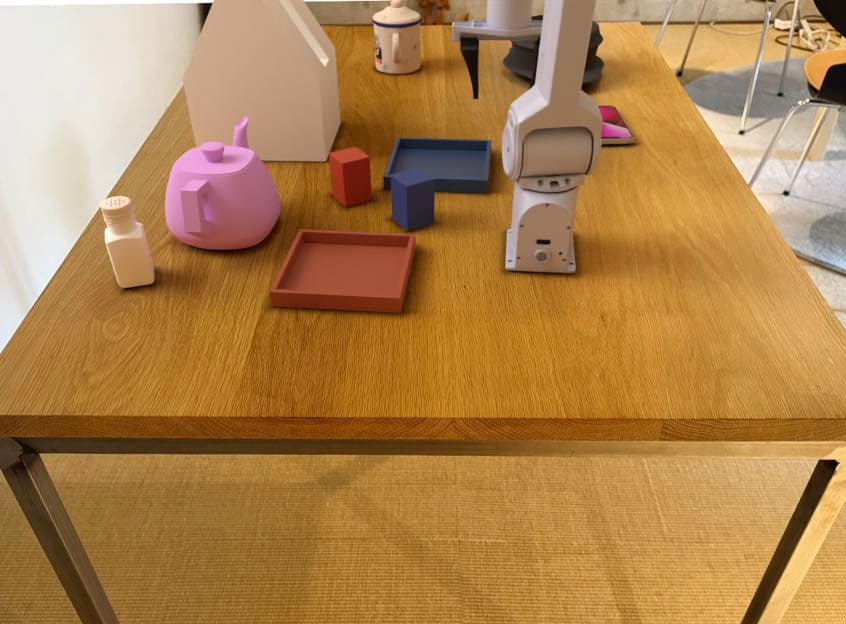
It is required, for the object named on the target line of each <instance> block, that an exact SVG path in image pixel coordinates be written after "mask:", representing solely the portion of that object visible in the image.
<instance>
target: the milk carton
mask: <svg viewBox="0 0 846 624" xmlns="http://www.w3.org/2000/svg"><path fill="white" fill-rule="evenodd" d="M336 56H337V55H336V47H335V45H334V44H333V42H332V41H331V39H330V38H329V37H328V35H327V34H326V32H325V31H324V29H323V28H322V26H321V25H320V23H319V22H318V20H317V19H316V17H315V15H314V14H313V13H312V12H311V10H310V8H309V7H308V6H307V4H306V2H305V1H304V0H213V1H212V4H211V6H210V8H209V12H208V14H207V16H206V19H205V22H204V23H203V26H202V29H201V31H200V34H199V36H198V39H197V41H196V43H195V47H194V48H193V51H192V54H191V56H190V59H189V61H188V64H187V66H186V68H185V71H184V74H183V76H182V78H181V81H182V86H183V89H184V95H185V100H186V105H187V110H188V114H189V119H190V124H191V129H192V134H193V140H194V143H195V148H196V147H200V146H201V145H202V144H204V143H207V142H211V141H217V142H222V143H223V144H224V146H233V138H234V131H235V126H236V124H237V122H238V121H239V120H240V119H241V118H243V117H247V118H248V124H247V141H248V146H249V149H250V150H252V151H254V152H255V153H256V154H257V155H258V157H259V158H260V159H261V161H265V162H266V161H267V162H269V161H272V162H273V161H277V162H327V160H328V158H329V153H331V150H332V147H333V145H334V141H335V139H336V137H337V134H338V132H339V129H340V126H341V123H342V122H341V109H340V97H339V82H338V69H337V57H336Z"/></svg>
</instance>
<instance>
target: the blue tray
mask: <svg viewBox="0 0 846 624" xmlns="http://www.w3.org/2000/svg"><path fill="white" fill-rule="evenodd" d="M492 144H493V142H492V139H478V138H477V139H476V138H443V137H442V138H440V137H410V136H409V137H407V136H397V137H396V139H395V141H394V145H393V148H392V151H391V153H390V156H389V159H388V162H387V165H386V168H385V171H384V174H383V180H382V181H383V190H384V191H385V190H386V191H391V174H395V173H399V172H403V171H407V170H411V169H414V168H419V169H421V170H422V171H424V172H425V173H427V174H428V175H430V176H431V177H433V178H434V179H435V192H436V193H439V192H440V193H465V194H466V193H467V194H488V189H489V178H490V167H491V157H492Z"/></svg>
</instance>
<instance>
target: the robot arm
mask: <svg viewBox="0 0 846 624" xmlns="http://www.w3.org/2000/svg"><path fill="white" fill-rule="evenodd" d="M533 1H534V0H487V4H486V5H487V6H486V19H478V20H468V21H453V22H452V25H451V42H454V43H455V42H456V43H458V42H459V50H460V54H461V56H462V58H463V60H464V63H465V66H466V68H467V71H468V74H469V79H470V84H471V87H472V100H479V93H480V90H479V89H480V84H479V81H480V80H479V58H480V56H479V55H480V41H510V40H533V41H535V42H534V58H533V70H532V77H531V79H530V83H529V89H528V90H527V91H525V92H524V93H523V94H521V95H520V96H519V97H517V99H515V100H514V101H512V103H510V105H509V110H508V112H507V117H506V123H505V126H504V128H503V131H502V139H501V155H502V156H501V158H502V159H501V160H502V167H503V171H504V173H505V175H506V176H507V177H508V178H509V180H511V181H514V182H513V183H514V185H513V195H512V196H513V198H512V209H511V223H510V228H508V229H507V230H506V243H505V270H506V271H515V272H533V273H535V272H537V273H538V272H539V273H557V274H558V273H559V274H575V273H576V269H577V268H576V267H577V266H576V257H575V256H576V255H575V245H574V244H575V243H574V233H573V232H574V226H575V225H574V224H575V216H576V209H577V203H578V195H579V187H580V186H584V185H585V184H586V183H585V182H586V177H587V176H591V175H592V174H593V173H594V172H595V170H596V169H597V168H598V166H599V163H600V158H601V153H602V144H601V129H602V122H603V120H602V116H601V113H600V110H599V107H598V106H599V105H598V104H597V102H596V101H595V100H594V99H593V98H592V97H591V96H589V94H587V93H586V92H584V90H582V85H583V84H582V81H583V75H584V69H585V63H586V57H587V51H588V45H589V40H590V34H591V28H592V22H593V21H594V15H595V9H596V4H597V0H544V7H543V14H542V15H543V21H538V20H531V16H533V15H532V14H533V4H534V3H533Z"/></svg>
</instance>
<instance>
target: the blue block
mask: <svg viewBox="0 0 846 624" xmlns="http://www.w3.org/2000/svg"><path fill="white" fill-rule="evenodd" d="M435 194H436V193H435V179H434V178H433V177H431V176H430V175H428V174H427V173H425V172H424V171H422V170H421V169H419V168H414V169H411V170H407V171H403V172H399V173H395V174H391V190H390V198H391V202H390V203H391V220H393V221H394V222H395V223H396V224H397V225H399V226H400V227H401V228H402V229H404V230H405V231H406V232H410V231H413V230H416V229H420V228H421V229H422V228H424V227H427V226H430V225H434V224H435V209H436V207H435V206H436V205H435V202H436V201H435V197H436V196H435Z"/></svg>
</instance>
